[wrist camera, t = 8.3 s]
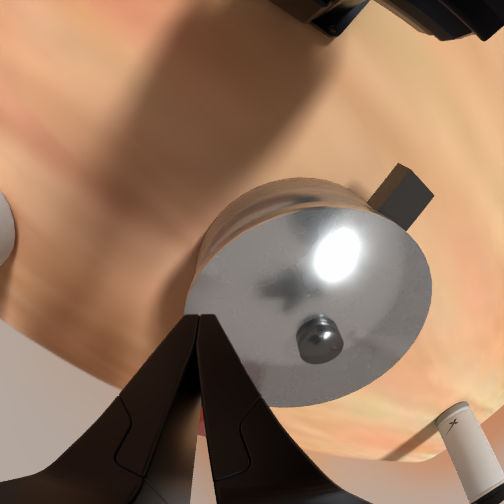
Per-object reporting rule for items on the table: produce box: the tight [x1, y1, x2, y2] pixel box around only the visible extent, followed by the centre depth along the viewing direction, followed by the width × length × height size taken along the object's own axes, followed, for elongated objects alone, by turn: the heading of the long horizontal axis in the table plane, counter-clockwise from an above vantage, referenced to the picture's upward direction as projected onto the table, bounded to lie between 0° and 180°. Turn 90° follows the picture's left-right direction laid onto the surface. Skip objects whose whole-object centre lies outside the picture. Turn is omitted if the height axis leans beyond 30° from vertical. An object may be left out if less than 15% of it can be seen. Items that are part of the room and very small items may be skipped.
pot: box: [195, 163, 434, 407], centre depth 21 cm, size 23×14×5 cm, turn 145°
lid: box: [183, 201, 432, 437], centre depth 18 cm, size 20×15×2 cm
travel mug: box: [436, 402, 504, 504], centre depth 29 cm, size 6×7×20 cm
